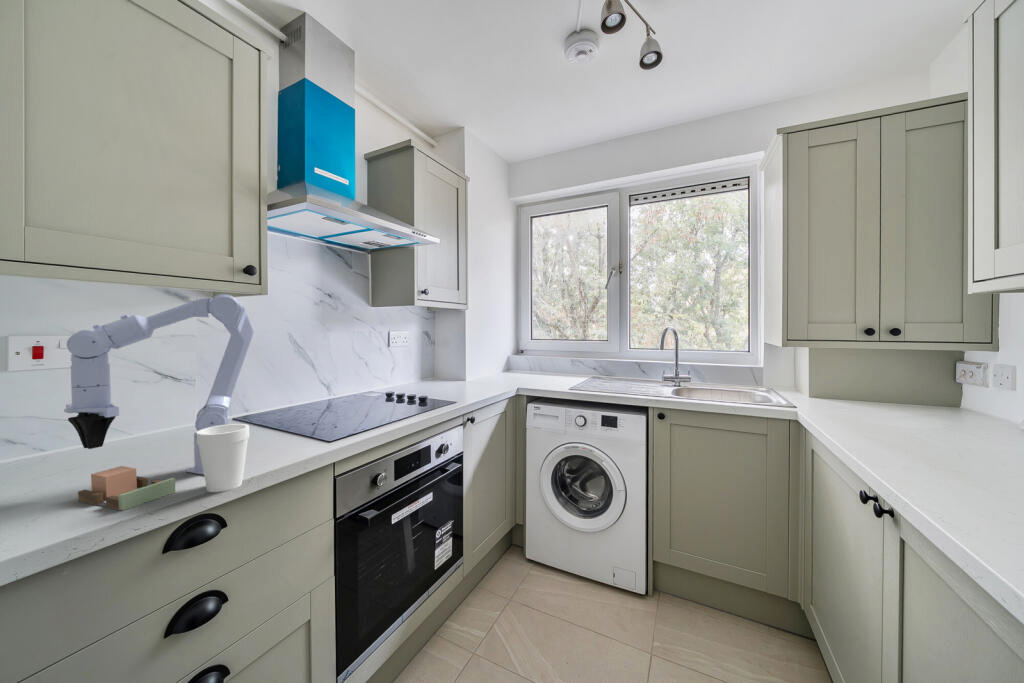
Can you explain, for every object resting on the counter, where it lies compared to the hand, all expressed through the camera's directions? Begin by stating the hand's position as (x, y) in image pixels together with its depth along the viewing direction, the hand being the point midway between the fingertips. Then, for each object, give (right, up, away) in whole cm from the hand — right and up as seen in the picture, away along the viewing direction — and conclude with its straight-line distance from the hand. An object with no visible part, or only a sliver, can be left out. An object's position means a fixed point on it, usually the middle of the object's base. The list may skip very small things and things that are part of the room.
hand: (93, 447), depth 83 cm
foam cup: (+27, -10, +2) cm, 29 cm away
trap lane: (+11, -10, -3) cm, 15 cm away
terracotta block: (+7, -10, -2) cm, 12 cm away
